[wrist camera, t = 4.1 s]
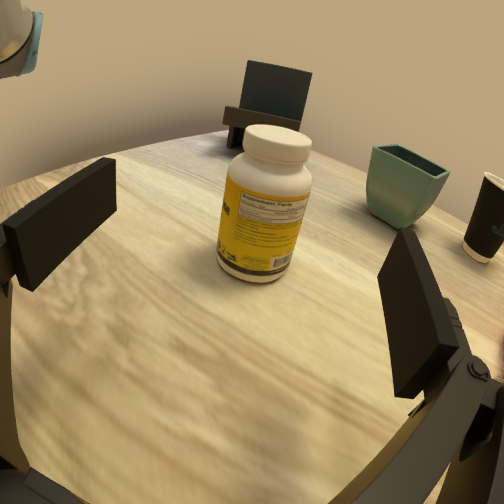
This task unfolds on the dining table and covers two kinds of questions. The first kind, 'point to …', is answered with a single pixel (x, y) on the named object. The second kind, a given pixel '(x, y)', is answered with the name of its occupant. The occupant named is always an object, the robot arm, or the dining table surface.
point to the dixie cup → (486, 221)
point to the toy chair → (268, 99)
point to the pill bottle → (264, 203)
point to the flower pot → (402, 184)
